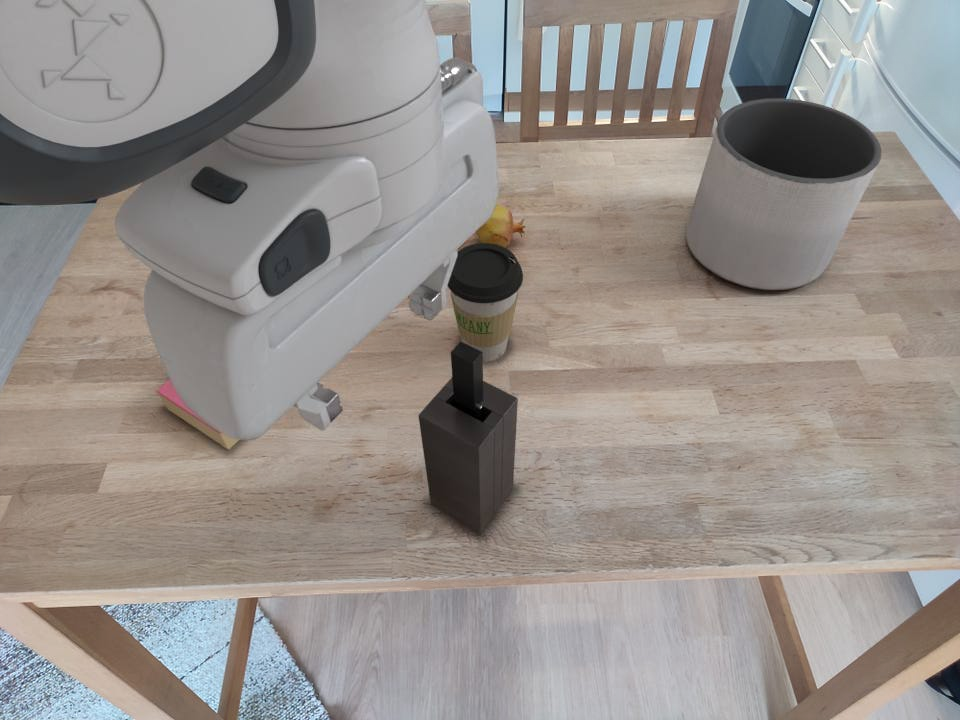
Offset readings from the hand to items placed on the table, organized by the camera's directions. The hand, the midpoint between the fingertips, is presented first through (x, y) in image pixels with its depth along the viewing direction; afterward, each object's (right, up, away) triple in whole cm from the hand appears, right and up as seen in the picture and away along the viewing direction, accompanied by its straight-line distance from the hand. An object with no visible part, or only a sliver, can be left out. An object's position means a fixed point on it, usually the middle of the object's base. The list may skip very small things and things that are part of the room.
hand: (379, 359), depth 37 cm
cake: (-28, -6, +49) cm, 57 cm away
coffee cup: (+6, +2, +56) cm, 56 cm away
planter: (+50, +18, +69) cm, 87 cm away
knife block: (+5, -16, +40) cm, 44 cm away
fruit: (+8, +19, +71) cm, 74 cm away
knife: (+5, -16, +39) cm, 43 cm away
